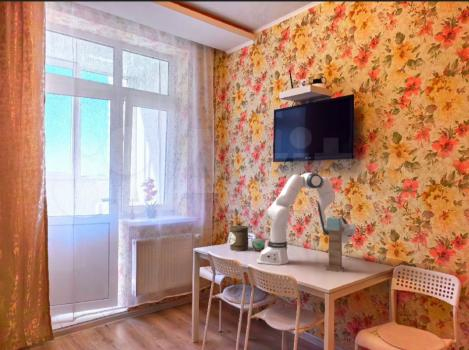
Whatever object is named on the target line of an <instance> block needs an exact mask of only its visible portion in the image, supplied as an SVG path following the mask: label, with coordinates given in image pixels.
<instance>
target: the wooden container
mask: <svg viewBox="0 0 469 350" xmlns="http://www.w3.org/2000/svg"><path fill="white" fill-rule="evenodd" d="M229 237H230V238H229V244H230V245H229V249H230V251H234V250H236V251H235V252H245V251H248V250H249V226H247V225H242V223H241V221H237V223H236V225H232V226H230V227H229Z"/></svg>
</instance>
